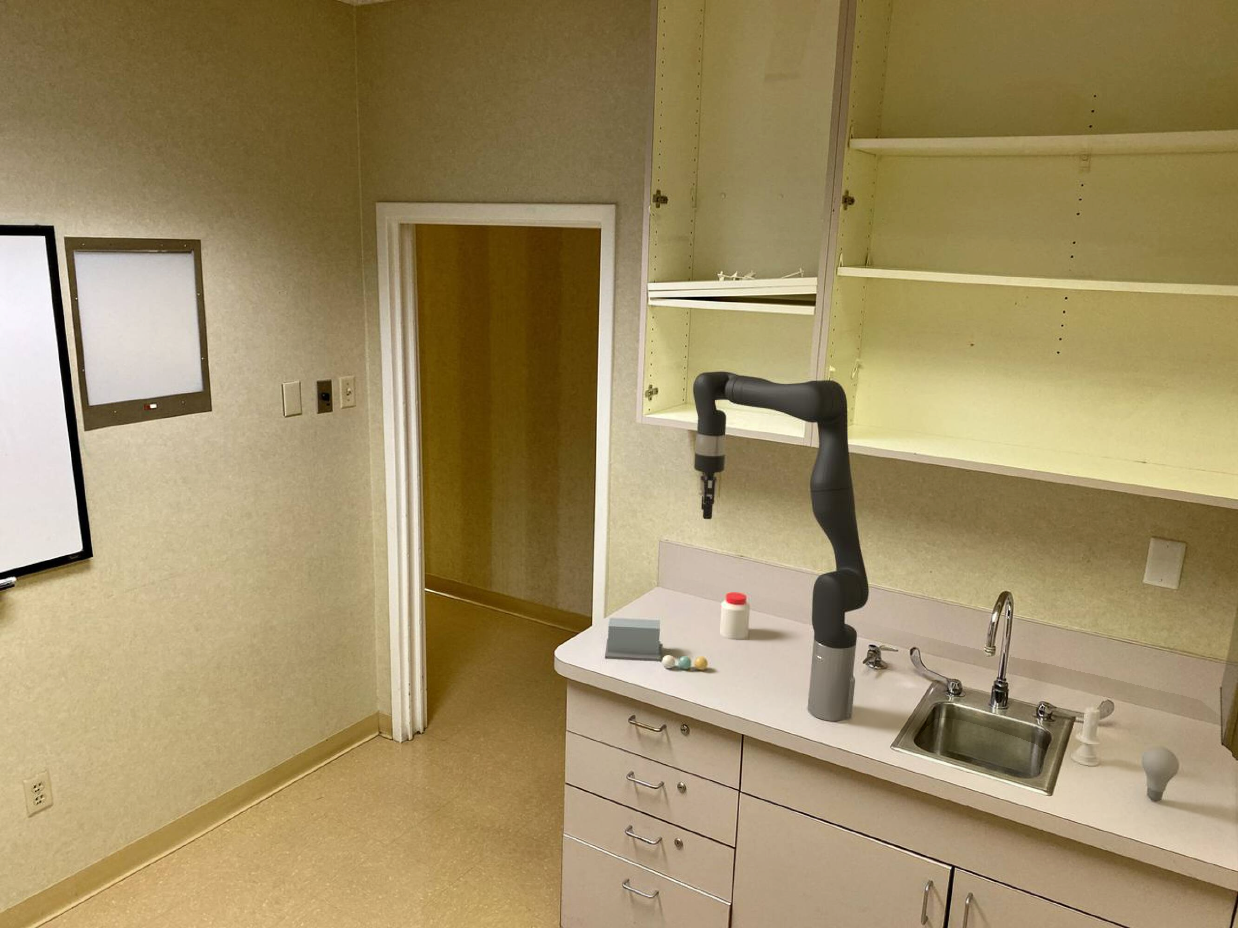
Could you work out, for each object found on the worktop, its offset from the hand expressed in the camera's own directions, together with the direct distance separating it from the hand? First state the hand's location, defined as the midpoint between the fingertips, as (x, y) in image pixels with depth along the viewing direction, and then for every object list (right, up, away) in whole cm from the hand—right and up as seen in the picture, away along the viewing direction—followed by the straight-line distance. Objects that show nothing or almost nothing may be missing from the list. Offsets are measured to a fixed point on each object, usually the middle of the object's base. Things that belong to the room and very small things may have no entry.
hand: (706, 514), depth 228 cm
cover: (-18, -35, +4) cm, 40 cm away
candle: (+75, -49, -41) cm, 98 cm away
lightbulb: (+81, -52, -55) cm, 111 cm away
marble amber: (-2, -38, -5) cm, 39 cm away
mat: (-19, -35, +4) cm, 40 cm away
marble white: (-10, -38, -5) cm, 39 cm away
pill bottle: (+9, -34, +17) cm, 39 cm away
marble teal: (-6, -38, -5) cm, 39 cm away
